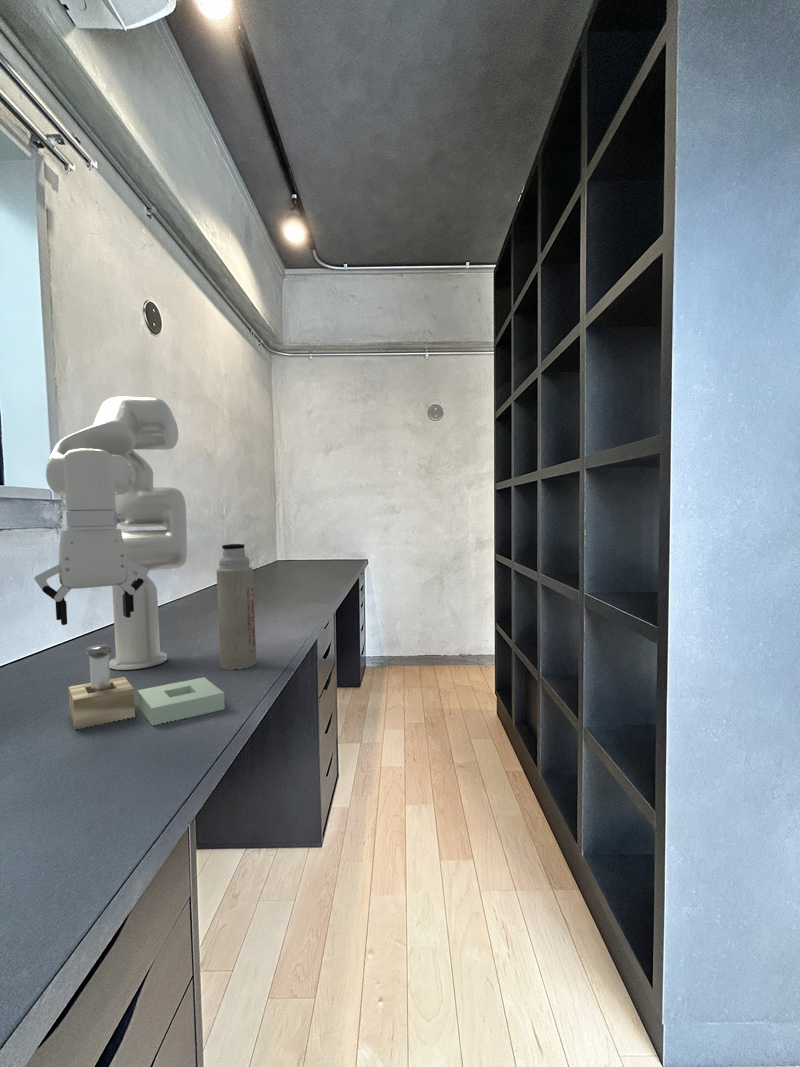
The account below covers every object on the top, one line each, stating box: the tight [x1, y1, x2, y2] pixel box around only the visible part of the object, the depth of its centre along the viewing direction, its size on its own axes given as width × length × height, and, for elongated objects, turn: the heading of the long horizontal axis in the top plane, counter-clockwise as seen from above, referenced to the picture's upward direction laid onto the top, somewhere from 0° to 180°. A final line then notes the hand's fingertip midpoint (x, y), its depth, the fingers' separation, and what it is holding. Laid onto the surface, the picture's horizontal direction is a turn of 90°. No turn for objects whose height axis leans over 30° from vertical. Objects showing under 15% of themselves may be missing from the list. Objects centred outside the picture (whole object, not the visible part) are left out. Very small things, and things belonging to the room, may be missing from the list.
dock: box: [137, 676, 226, 727], centre depth 99 cm, size 12×12×3 cm
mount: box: [68, 676, 136, 731], centre depth 96 cm, size 9×9×5 cm
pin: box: [85, 644, 112, 693], centre depth 96 cm, size 4×4×12 cm
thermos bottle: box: [216, 543, 257, 671], centre depth 126 cm, size 8×8×28 cm
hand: (96, 620), depth 95 cm, fingers open, 9 cm apart
